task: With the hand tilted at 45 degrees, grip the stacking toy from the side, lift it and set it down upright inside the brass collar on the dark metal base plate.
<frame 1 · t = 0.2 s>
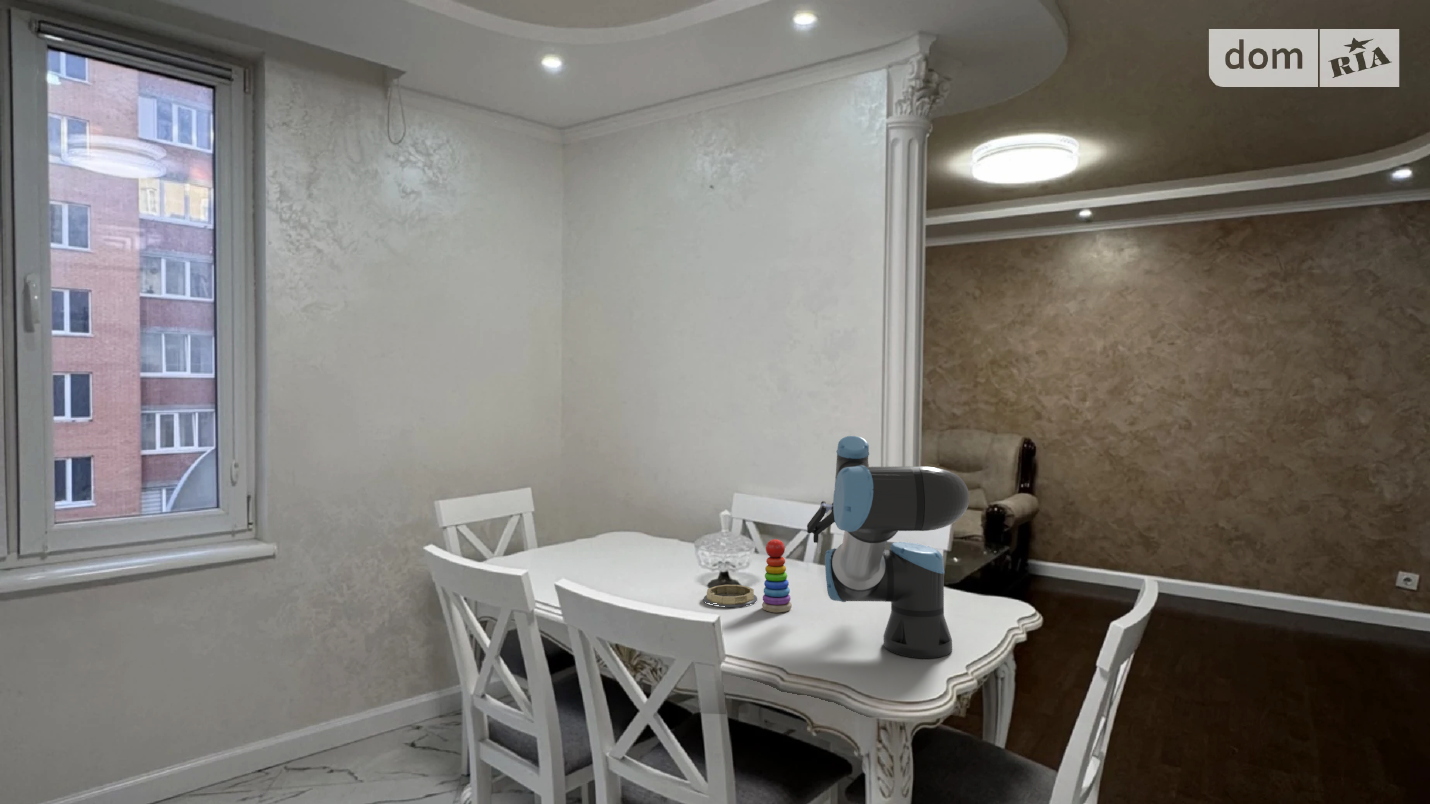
hand: (844, 551, 203), 16 cm above the table, tool tilted 35°, fingers open, 13 cm apart
collar plate: (730, 600, 213), on the table
stacking toy: (776, 609, 204), on the table
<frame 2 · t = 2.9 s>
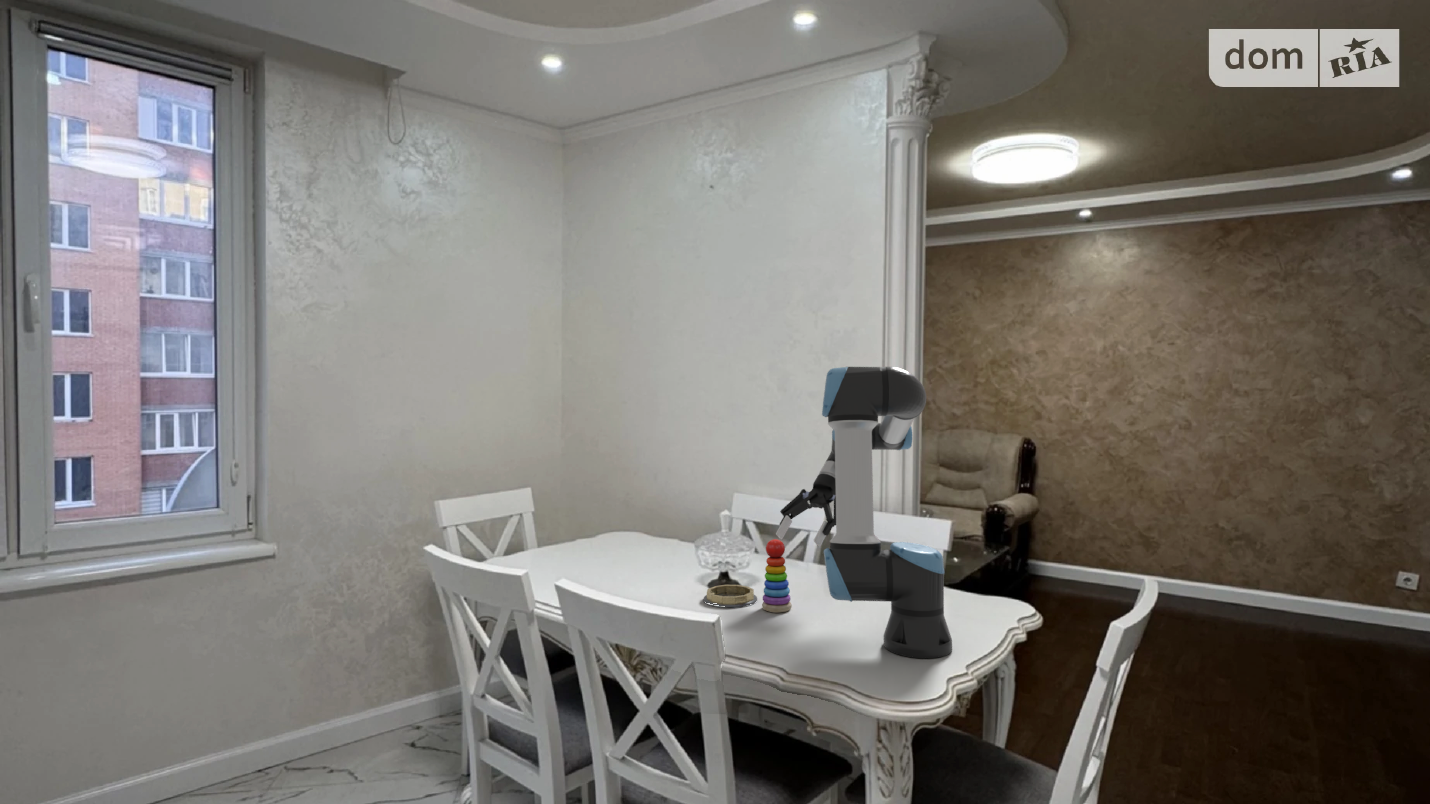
hand: (797, 540, 210), 17 cm above the table, tool tilted 45°, fingers open, 13 cm apart
nothing on the table moved.
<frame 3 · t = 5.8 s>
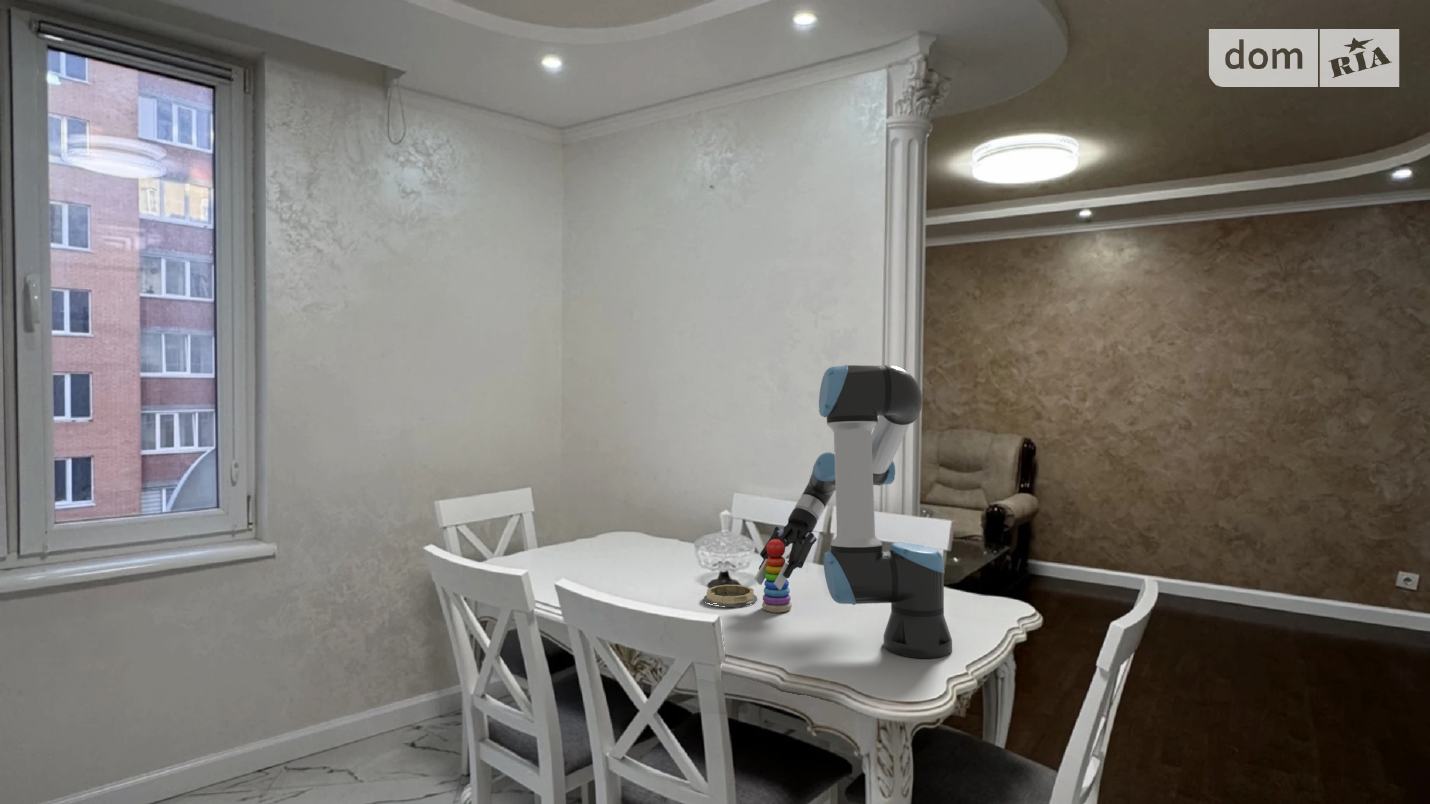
hand: (767, 584, 201), 7 cm above the table, tool tilted 45°, fingers closed on stacking toy, 6 cm apart
stacking toy: (776, 609, 204), on the table, touching gripper
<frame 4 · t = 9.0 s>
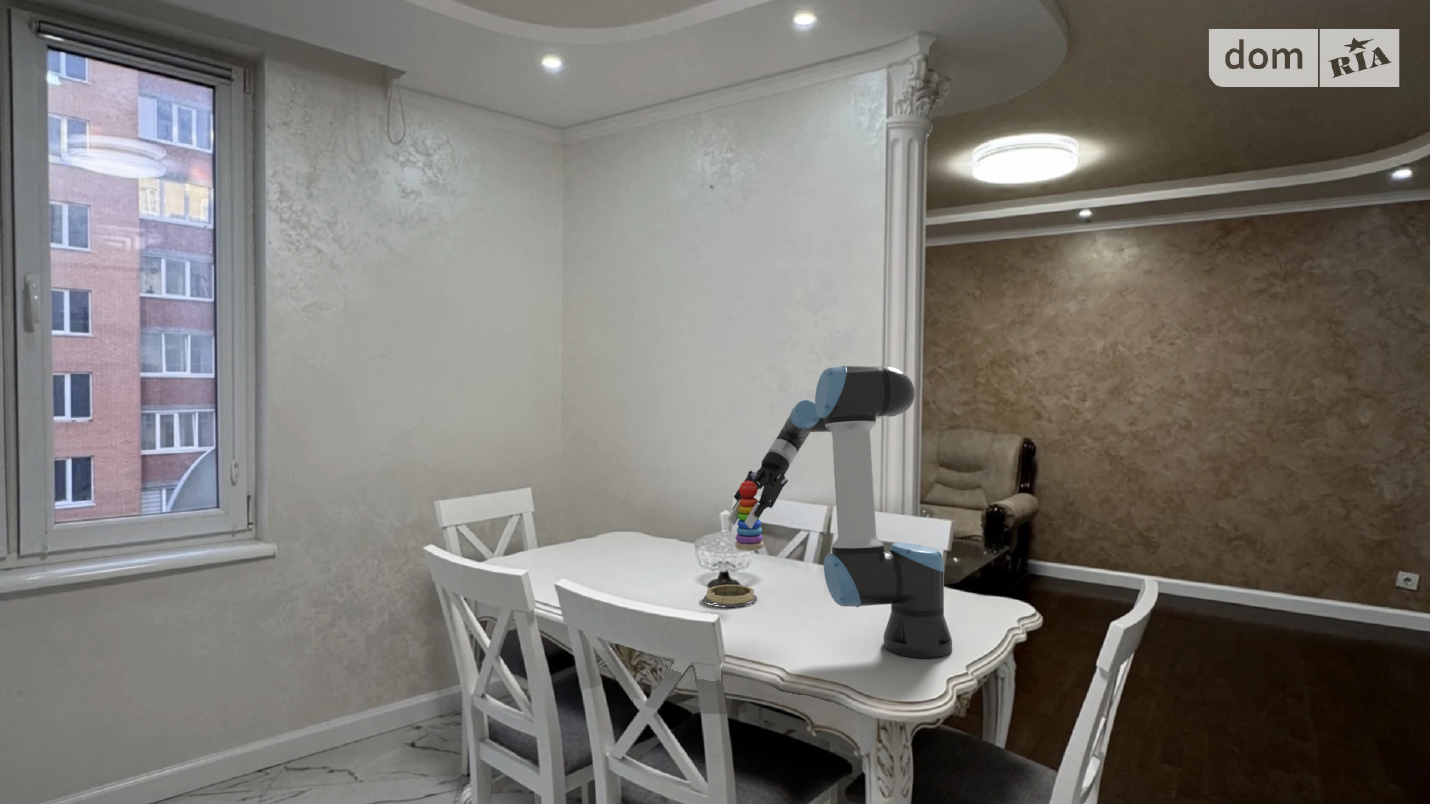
hand: (739, 523, 208), 22 cm above the table, tool tilted 45°, fingers closed on stacking toy, 6 cm apart
stacking toy: (749, 548, 210), point 15 cm above the table, touching gripper
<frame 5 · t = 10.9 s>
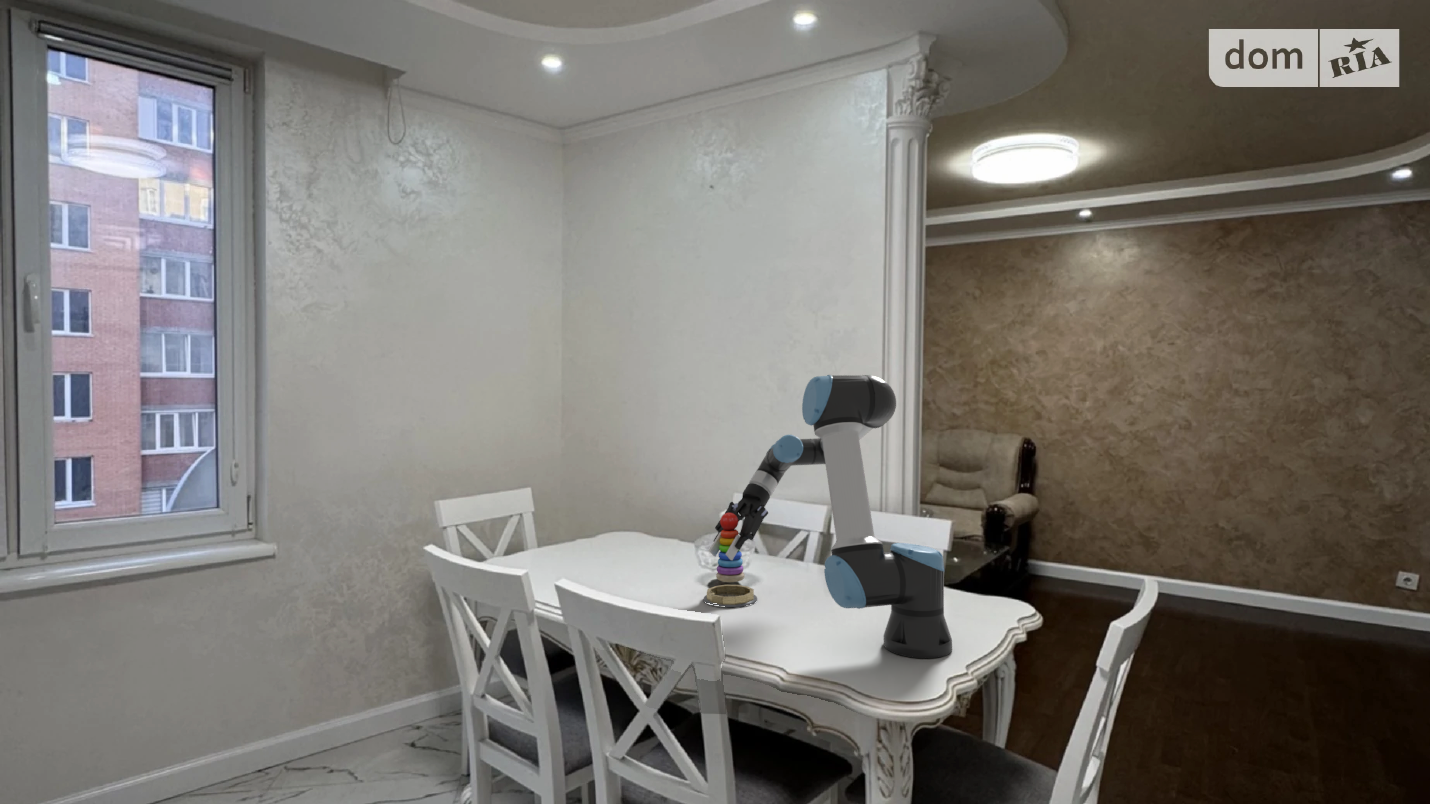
hand: (720, 555, 210), 13 cm above the table, tool tilted 45°, fingers closed on stacking toy, 6 cm apart
stacking toy: (730, 580, 213), point 6 cm above the table, touching gripper
when the fingers open (9 cm above the table, at t = 12.0 s): stacking toy drops 1 cm, resting on collar plate.
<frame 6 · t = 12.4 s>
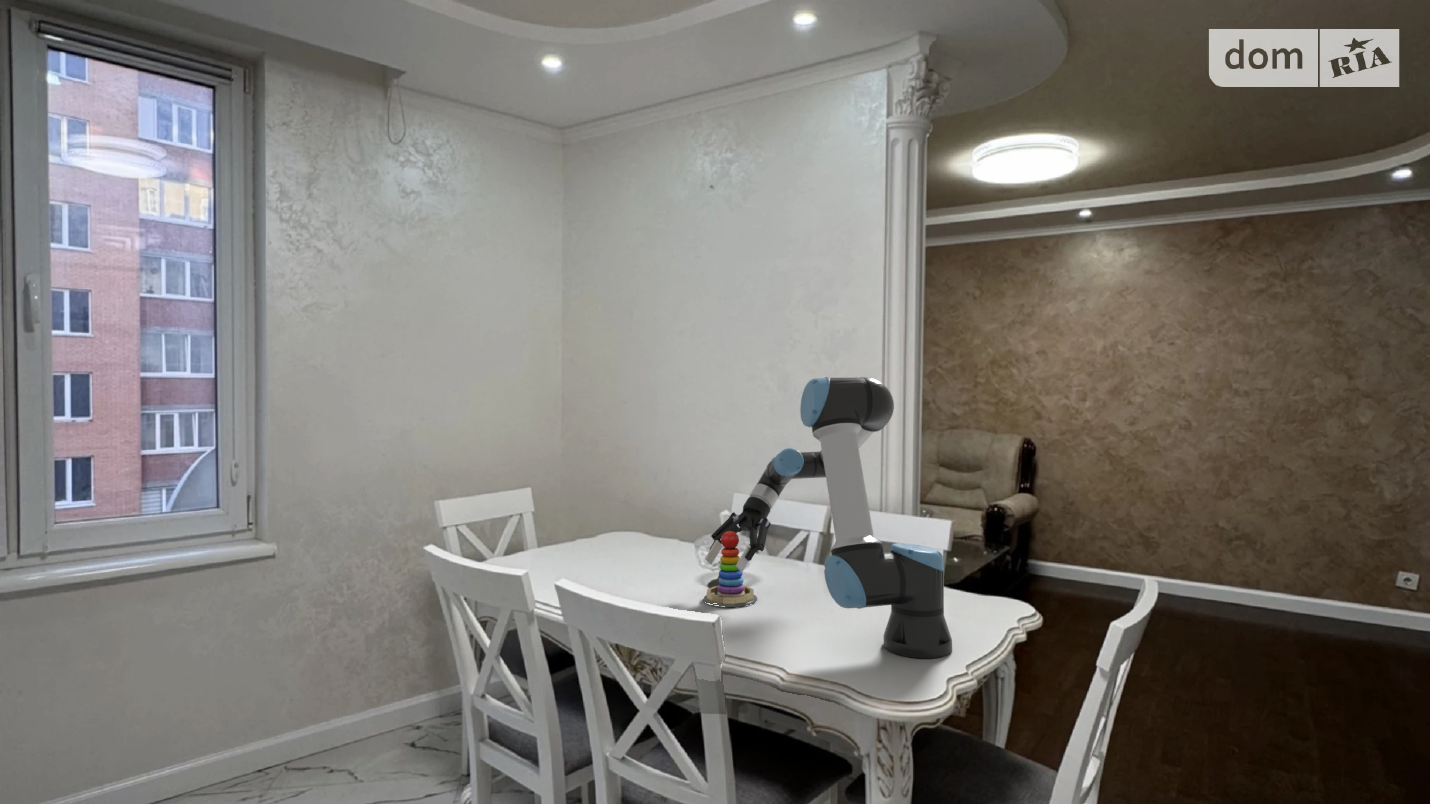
hand: (723, 565, 211), 10 cm above the table, tool tilted 45°, fingers open, 11 cm apart
stacking toy: (731, 598, 213), resting on collar plate
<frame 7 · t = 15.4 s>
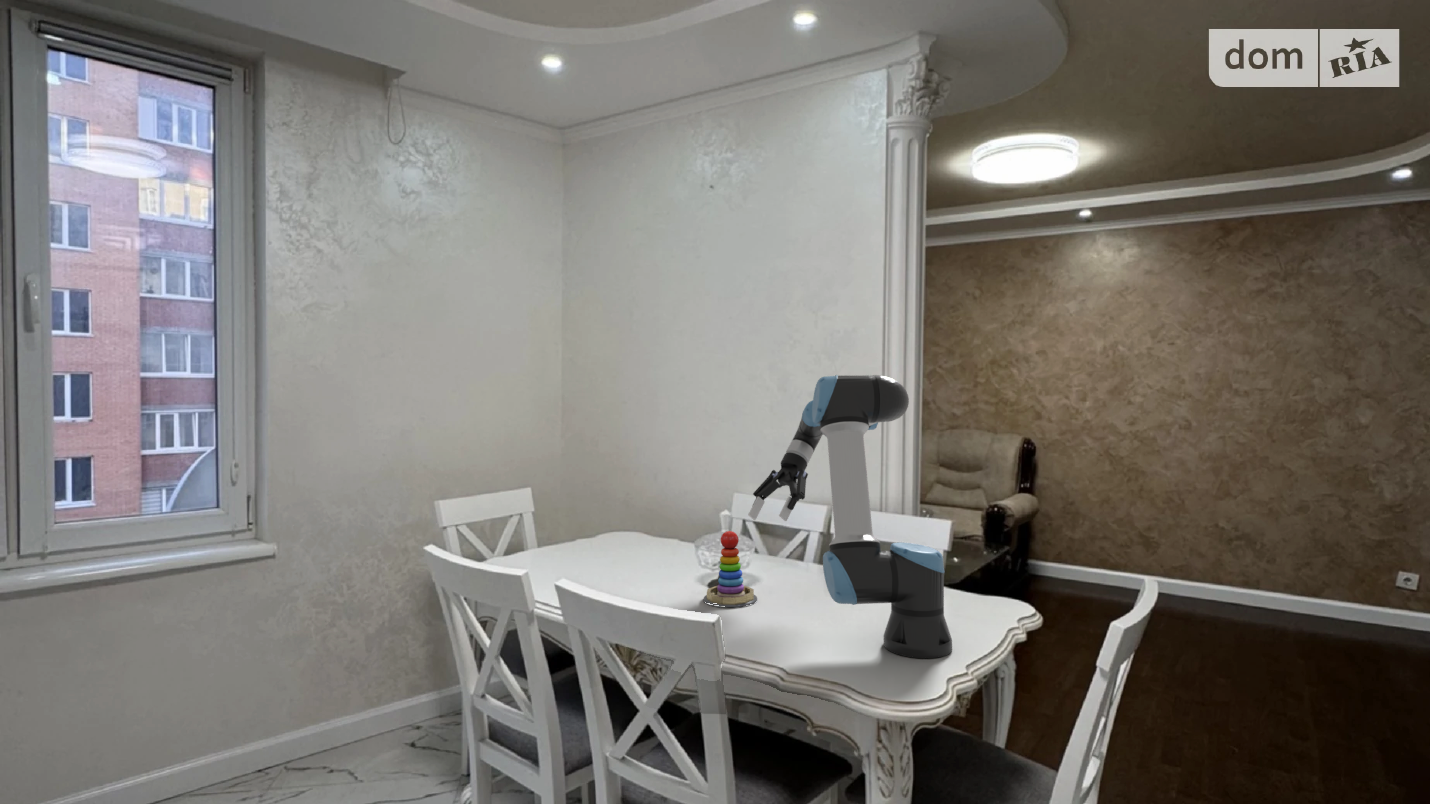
hand: (766, 518, 219), 22 cm above the table, tool tilted 40°, fingers open, 13 cm apart
nothing on the table moved.
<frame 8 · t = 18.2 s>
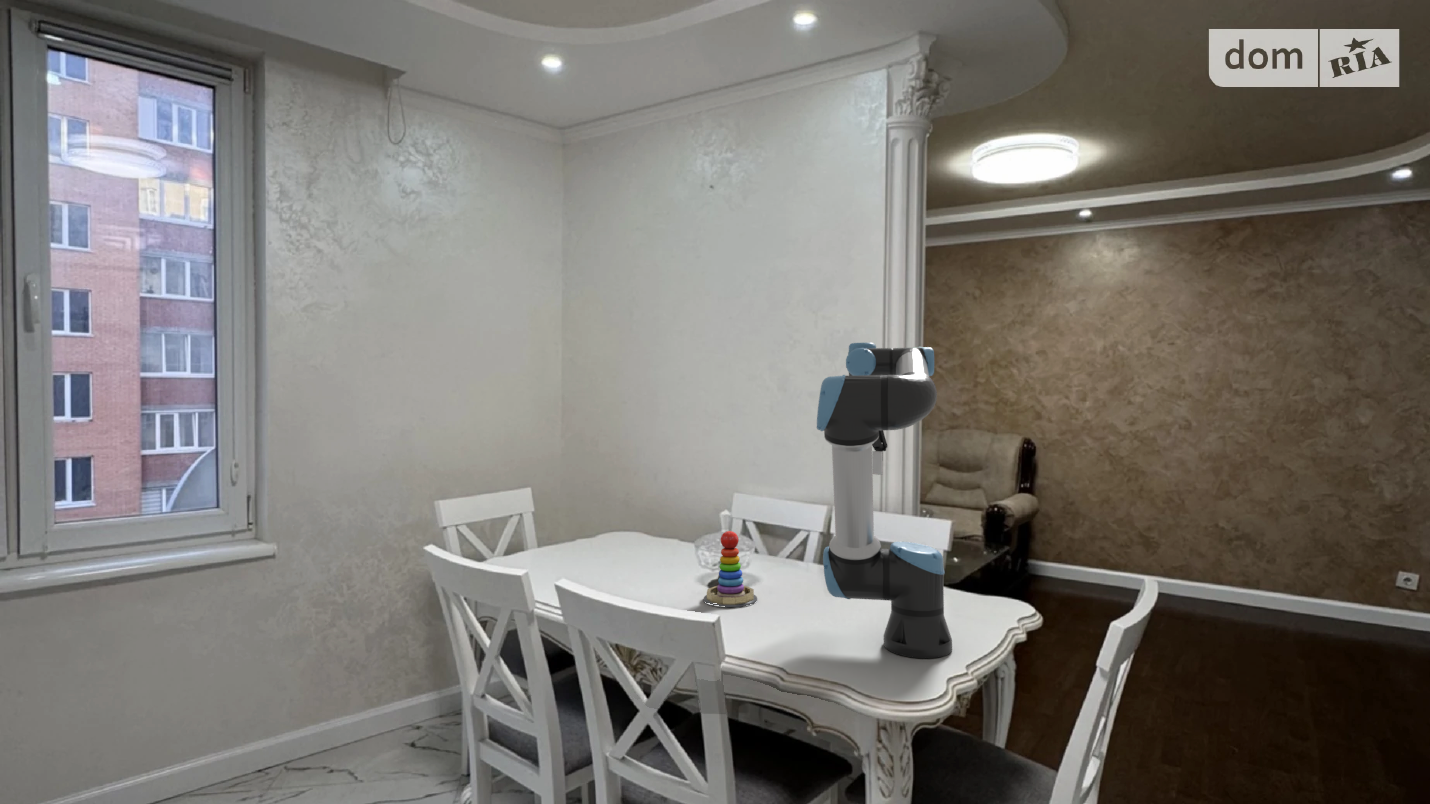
hand: (863, 476, 208), 35 cm above the table, tool pointing down, fingers open, 13 cm apart
nothing on the table moved.
at the end: stacking toy 0.2 cm off-centre on the collar plate, point 0.4 cm above the collar plate's base; stacking toy tilted 0°; the gripper is holding nothing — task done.
